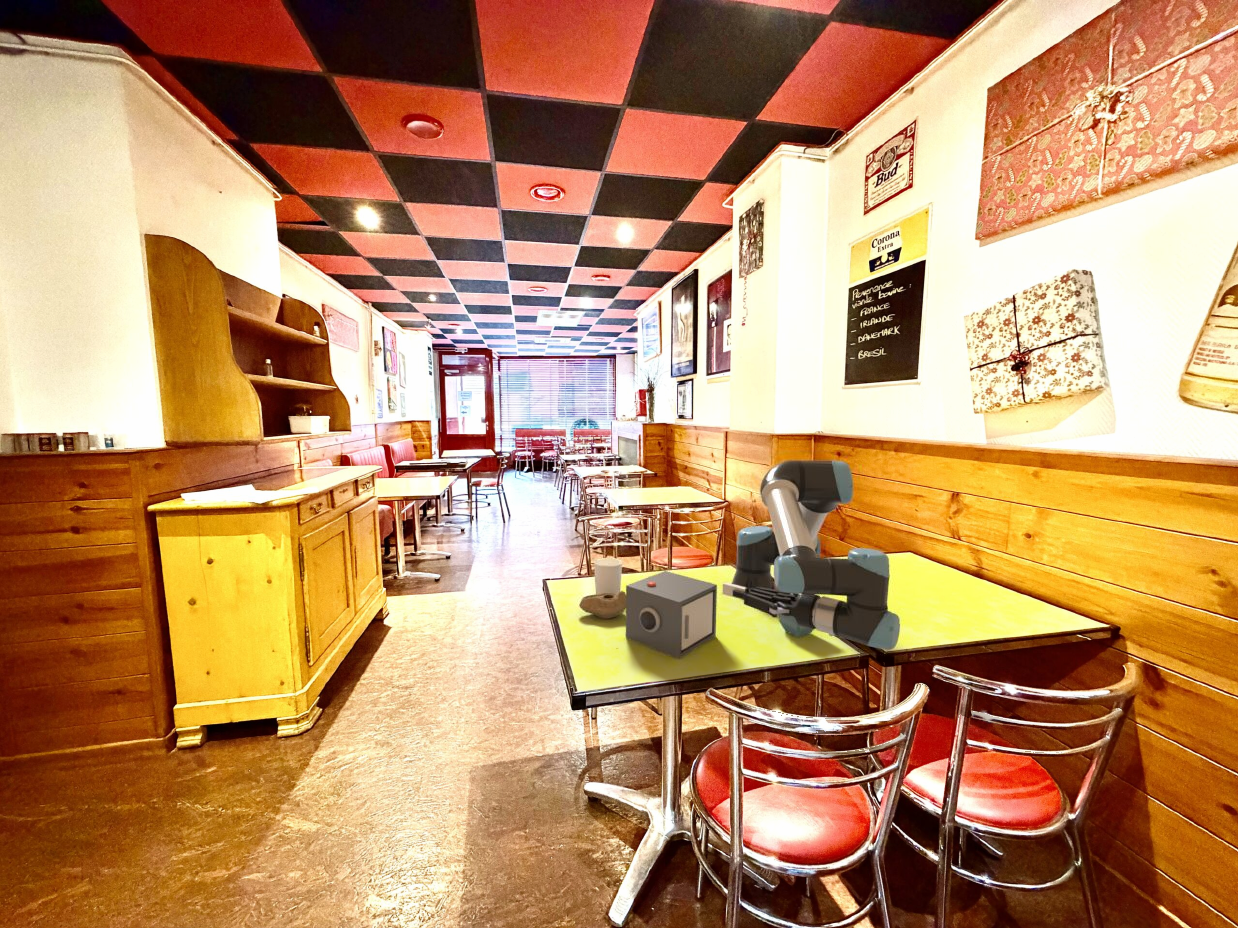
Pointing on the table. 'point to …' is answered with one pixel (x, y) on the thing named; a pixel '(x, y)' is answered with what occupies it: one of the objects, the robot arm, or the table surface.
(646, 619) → the cabinet with door
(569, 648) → the table surface
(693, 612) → the side door
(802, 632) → the flower pot
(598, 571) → the candle holder
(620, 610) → the oil lamp
